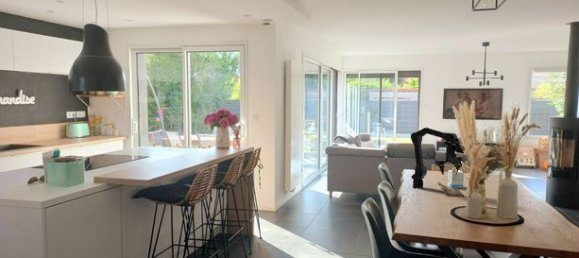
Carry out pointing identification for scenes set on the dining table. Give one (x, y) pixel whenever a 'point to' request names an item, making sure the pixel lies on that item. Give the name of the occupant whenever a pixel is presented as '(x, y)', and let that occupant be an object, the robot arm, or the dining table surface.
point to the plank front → (446, 190)
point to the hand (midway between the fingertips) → (449, 174)
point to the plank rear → (443, 185)
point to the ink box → (455, 179)
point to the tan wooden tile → (457, 192)
